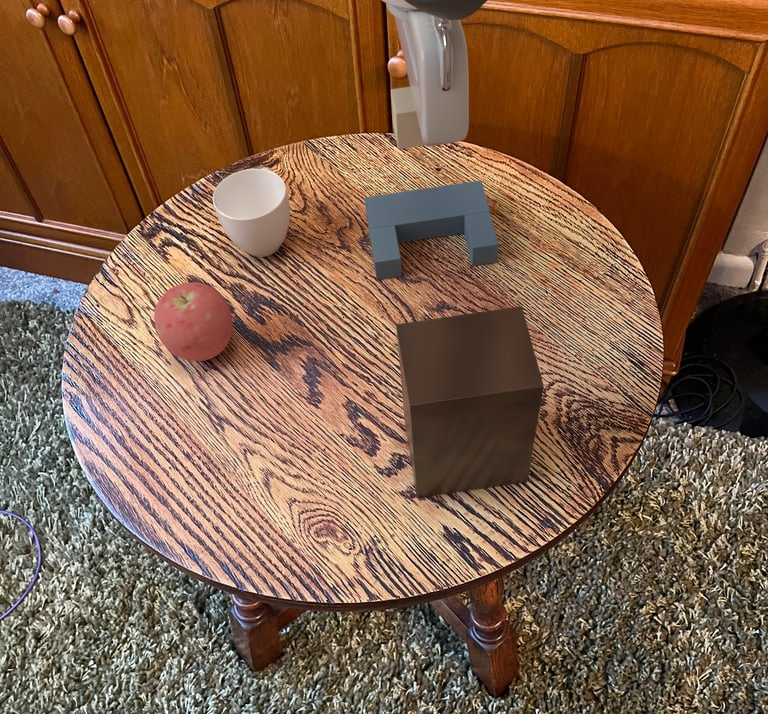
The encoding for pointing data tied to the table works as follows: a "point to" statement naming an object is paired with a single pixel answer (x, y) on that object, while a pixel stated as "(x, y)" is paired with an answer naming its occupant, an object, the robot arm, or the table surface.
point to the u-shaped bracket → (430, 223)
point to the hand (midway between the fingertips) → (428, 123)
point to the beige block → (405, 119)
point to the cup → (253, 210)
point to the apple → (193, 321)
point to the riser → (469, 400)
